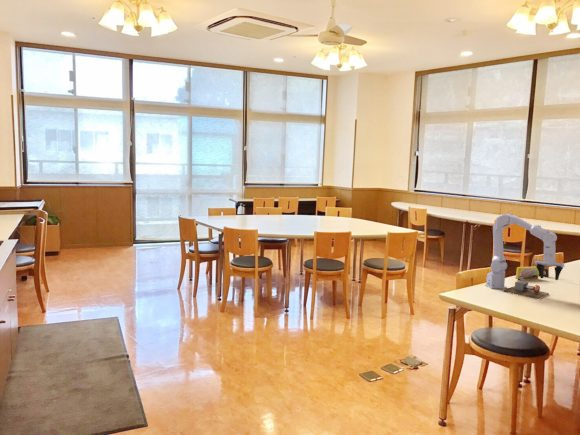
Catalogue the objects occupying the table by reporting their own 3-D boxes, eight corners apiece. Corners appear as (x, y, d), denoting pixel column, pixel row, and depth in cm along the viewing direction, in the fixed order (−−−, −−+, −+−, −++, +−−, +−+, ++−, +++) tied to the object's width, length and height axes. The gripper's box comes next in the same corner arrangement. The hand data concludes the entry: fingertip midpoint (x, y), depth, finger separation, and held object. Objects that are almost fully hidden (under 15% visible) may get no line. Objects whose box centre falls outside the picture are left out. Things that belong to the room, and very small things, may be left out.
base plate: (548, 294, 267) (548, 293, 267) (538, 299, 258) (538, 297, 258) (514, 287, 281) (514, 286, 281) (503, 291, 272) (503, 289, 272)
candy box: (517, 280, 300) (518, 267, 299) (515, 279, 302) (516, 267, 301) (538, 279, 304) (539, 266, 303) (536, 278, 306) (537, 266, 305)
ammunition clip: (548, 276, 311) (550, 258, 310) (547, 277, 310) (549, 259, 309) (531, 274, 318) (532, 256, 317) (530, 274, 317) (531, 256, 316)
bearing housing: (527, 290, 272) (528, 281, 271) (522, 292, 268) (523, 283, 267) (520, 288, 275) (520, 280, 275) (514, 290, 271) (515, 282, 270)
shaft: (539, 292, 266) (540, 284, 265) (536, 293, 263) (537, 286, 263) (521, 288, 273) (522, 281, 273) (518, 290, 271) (518, 282, 270)
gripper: (566, 254, 257) (566, 279, 258) (538, 252, 268) (538, 276, 269) (561, 256, 252) (561, 281, 253) (533, 253, 263) (533, 278, 264)
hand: (549, 278), depth 261 cm, fingers open, 7 cm apart
